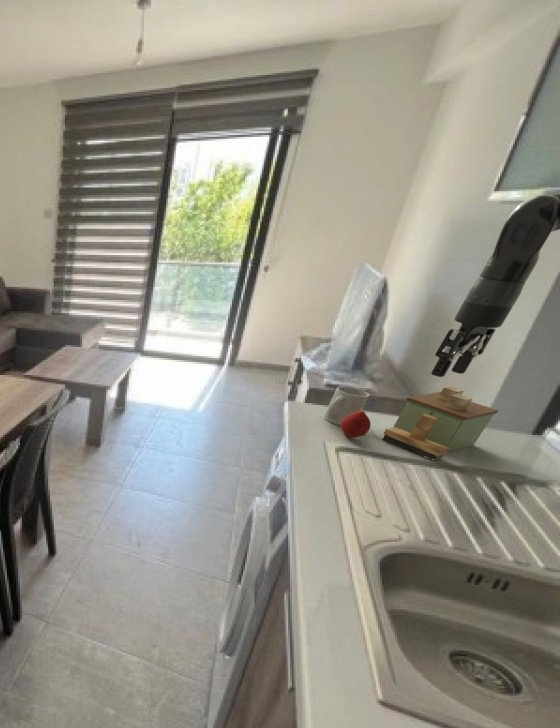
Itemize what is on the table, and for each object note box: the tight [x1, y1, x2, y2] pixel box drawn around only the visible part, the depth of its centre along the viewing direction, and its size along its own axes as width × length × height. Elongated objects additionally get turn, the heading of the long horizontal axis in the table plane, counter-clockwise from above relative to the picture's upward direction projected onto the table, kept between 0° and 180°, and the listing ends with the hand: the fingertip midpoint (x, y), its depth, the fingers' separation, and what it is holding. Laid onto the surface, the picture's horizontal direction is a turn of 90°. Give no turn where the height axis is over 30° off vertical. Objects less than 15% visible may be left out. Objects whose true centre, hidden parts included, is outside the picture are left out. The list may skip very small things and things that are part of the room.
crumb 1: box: [438, 386, 465, 401], centre depth 123 cm, size 3×3×3 cm
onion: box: [340, 409, 372, 439], centre depth 122 cm, size 6×6×8 cm
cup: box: [323, 385, 370, 426], centre depth 131 cm, size 7×10×9 cm
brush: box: [382, 414, 450, 461], centre depth 118 cm, size 12×4×9 cm, turn 22°
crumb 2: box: [445, 394, 473, 411], centre depth 118 cm, size 3×3×3 cm
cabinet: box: [393, 391, 499, 452], centre depth 124 cm, size 13×15×10 cm
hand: (447, 374), depth 109 cm, fingers open, 8 cm apart
